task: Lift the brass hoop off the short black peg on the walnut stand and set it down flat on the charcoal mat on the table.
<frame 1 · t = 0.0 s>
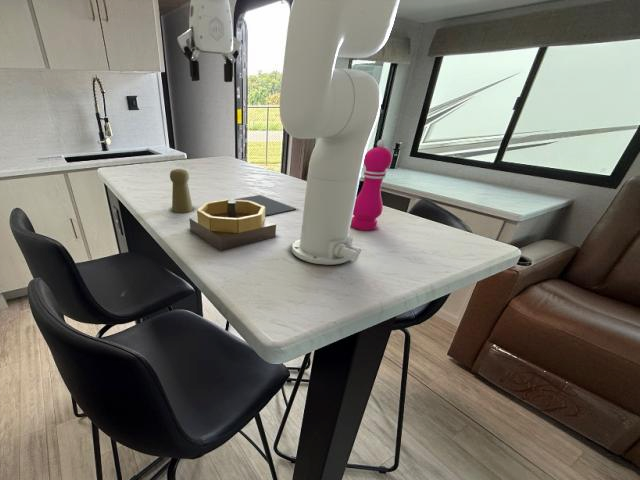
hand: (212, 81, 83), 31 cm above the table, tool pointing down, fingers open, 9 cm apart
olive game pawn: (182, 210, 93), on the table
pepper mill: (362, 227, 82), on the table
mat: (253, 206, 96), on the table
peg stand: (231, 233, 77), on the table
brass hoop: (231, 214, 75), point 4 cm above the table, touching peg stand
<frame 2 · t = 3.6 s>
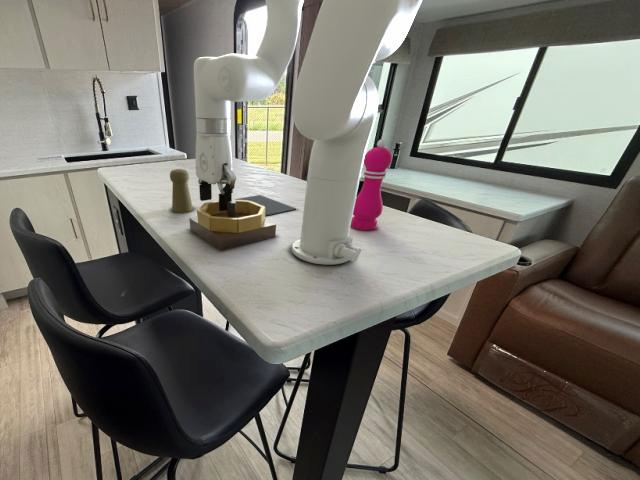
hand: (215, 204, 80), 5 cm above the table, tool pointing down, fingers open, 9 cm apart
nothing on the table moved.
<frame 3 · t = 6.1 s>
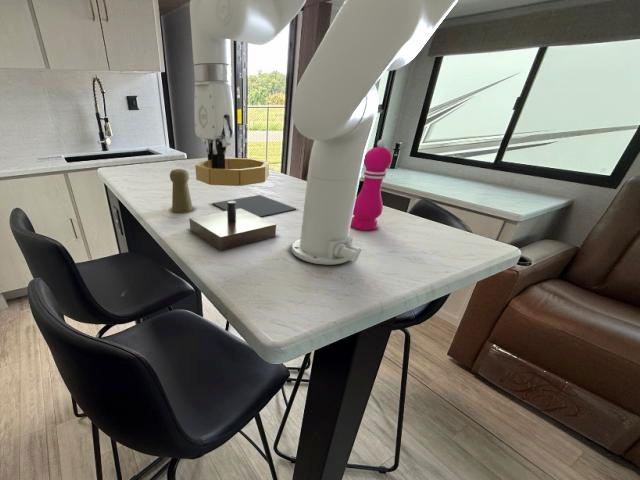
hand: (216, 171, 75), 13 cm above the table, tool pointing down, fingers closed on brass hoop
brass hoop: (232, 170, 69), point 14 cm above the table, touching gripper
everything else where it was.
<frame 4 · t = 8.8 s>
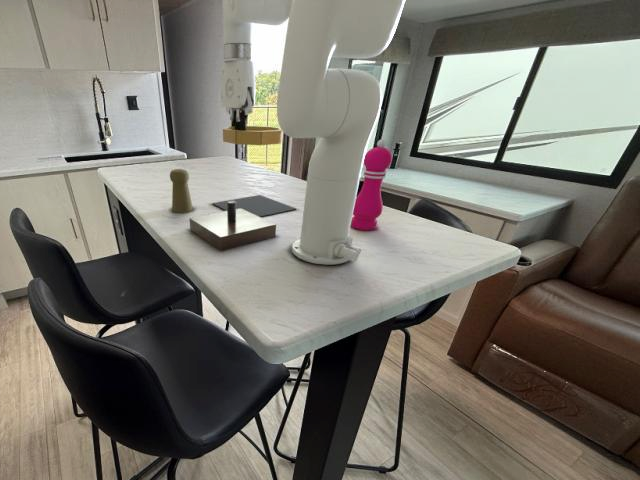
hand: (238, 137, 89), 18 cm above the table, tool pointing down, fingers closed on brass hoop
brass hoop: (253, 134, 83), point 20 cm above the table, touching gripper
everything else where it was.
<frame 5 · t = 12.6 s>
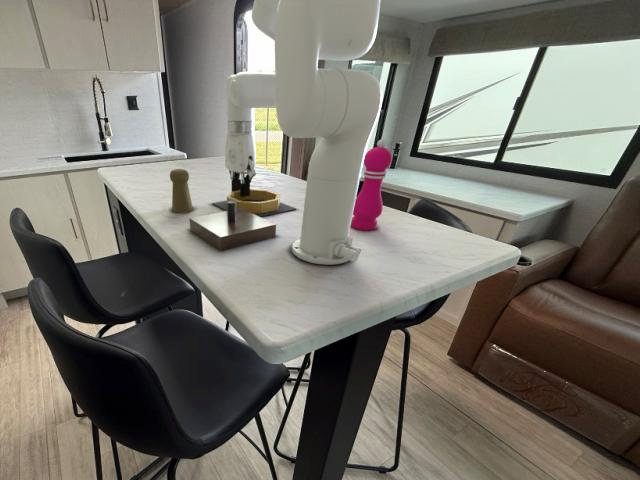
hand: (240, 193, 99), 2 cm above the table, tool pointing down, fingers open, 4 cm apart
brass hoop: (253, 200, 95), point 2 cm above the table, touching mat
everything else where it was.
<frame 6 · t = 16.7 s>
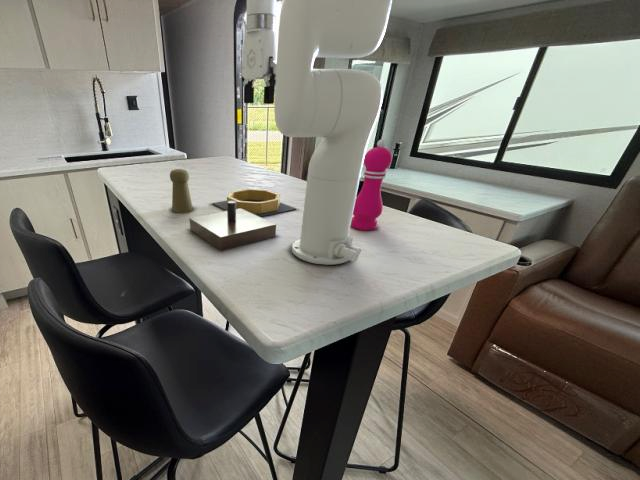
hand: (258, 103, 92), 26 cm above the table, tool pointing down, fingers open, 9 cm apart
nothing on the table moved.
at the end: brass hoop inside the target area (0.2 cm from its centre), point 1.8 cm above the table; brass hoop tilted 0°; the gripper is holding nothing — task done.
